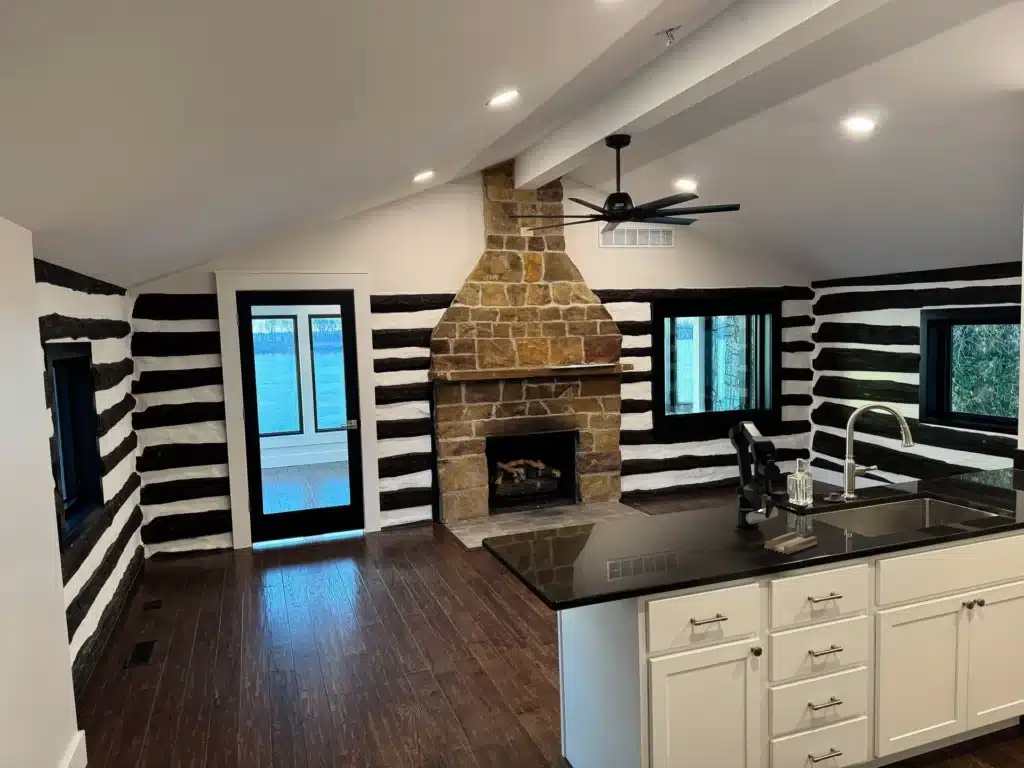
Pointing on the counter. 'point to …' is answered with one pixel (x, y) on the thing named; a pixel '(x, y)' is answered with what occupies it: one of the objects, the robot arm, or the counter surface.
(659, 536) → the counter surface
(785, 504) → the hand tool
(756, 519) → the axle
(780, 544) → the cradle
